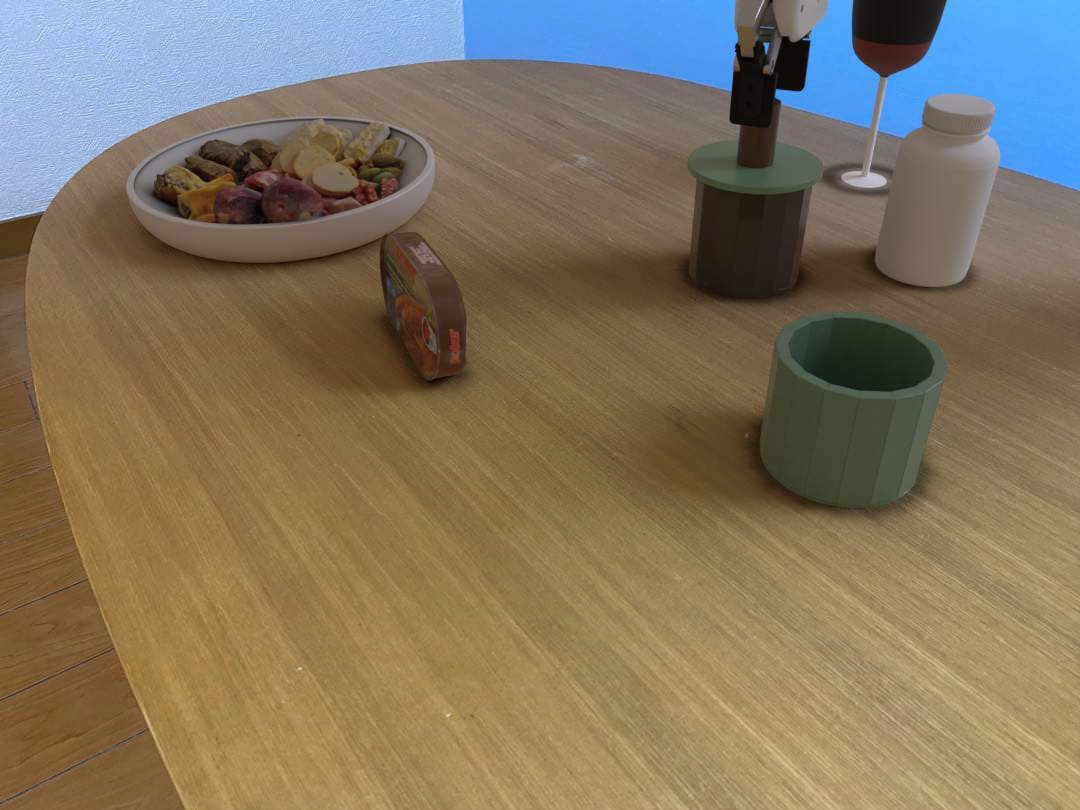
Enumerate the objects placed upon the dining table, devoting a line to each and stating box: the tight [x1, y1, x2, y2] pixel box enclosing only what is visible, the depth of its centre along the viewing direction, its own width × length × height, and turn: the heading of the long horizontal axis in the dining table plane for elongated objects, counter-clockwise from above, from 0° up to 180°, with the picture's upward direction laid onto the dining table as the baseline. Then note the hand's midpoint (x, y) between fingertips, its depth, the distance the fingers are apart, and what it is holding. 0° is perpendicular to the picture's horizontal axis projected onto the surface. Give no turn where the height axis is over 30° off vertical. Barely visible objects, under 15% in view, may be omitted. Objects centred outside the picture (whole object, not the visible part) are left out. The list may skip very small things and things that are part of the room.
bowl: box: [125, 115, 436, 264], centre depth 95 cm, size 30×30×8 cm
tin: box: [379, 231, 468, 381], centre depth 72 cm, size 15×3×8 cm, turn 23°
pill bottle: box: [874, 93, 1001, 288], centre depth 80 cm, size 8×8×15 cm
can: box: [759, 311, 949, 509], centre depth 60 cm, size 10×10×8 cm
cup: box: [688, 179, 813, 300], centre depth 81 cm, size 9×9×10 cm
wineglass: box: [840, 0, 948, 189], centre depth 95 cm, size 8×9×20 cm
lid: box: [686, 97, 824, 194], centre depth 76 cm, size 11×11×6 cm
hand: (768, 106), depth 75 cm, fingers open, 9 cm apart
